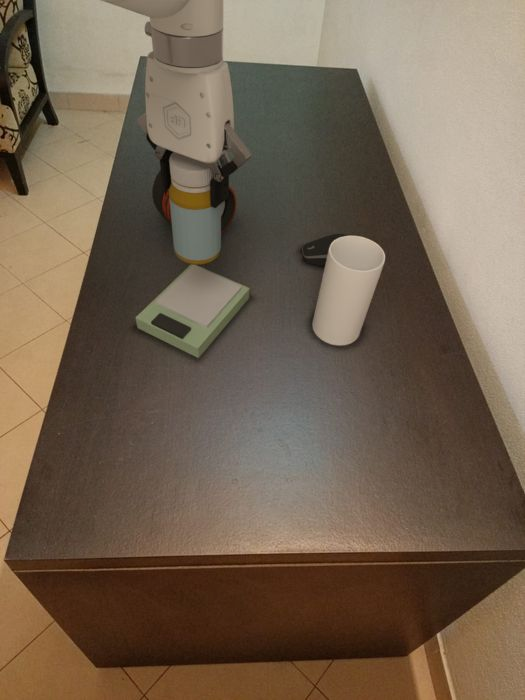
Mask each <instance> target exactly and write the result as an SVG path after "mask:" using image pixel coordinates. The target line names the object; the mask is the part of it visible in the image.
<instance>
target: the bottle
mask: <svg viewBox="0 0 525 700" xmlns="http://www.w3.org/2000/svg"><path fill="white" fill-rule="evenodd" d="M169 163H170V174H171V186H170V189H169V199H170V210H171V221H172V224H171V231H172V240H173V250H174V254H175V255H176V256H177V258H178V259H180V260H181V261H183V262H184V263H186V264H190V265H191V264H194V265H197V266H201V265H207V264H210V263H211V262H213V261H214V260H215V259H216V258H218V256H219V255H220V254H221V250H222V234H221V204H220V205H219V206H218V207H217V208H213V207H211V205H210V181H211V179H212V178H214V176H213V174H212V171H211V169H210V167H209V164H208V163H204V162H201V161H198V160H195V159H192V158H189V157H186V156H184V155H181V154H178V153H175V152H173V153H172V154H171V156H170V160H169Z"/></svg>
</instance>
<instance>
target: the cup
mask: <svg viewBox="0 0 525 700" xmlns="http://www.w3.org/2000/svg"><path fill="white" fill-rule="evenodd" d="M385 260H386V252H385V251H384V249H383V248H382V247H381V246H380V245H379V244H378V243H377V242H375V241H374V240H372V239H369V238H368V237H363V236H359V235H349V236H343V237H340V238H337V239H336V240H334V241H333V242H332V243H331V245H330V247H329V251H328V255H327V260H326V264H325V266H324V269H323V273H322V279H321V281H320V286H319V291H318V295H317V300H316V306H315V309H314V314H313V318H312V323H311V325H312V330H313V332H314V334H315V336H316V337H317V338H318V339H319V340H321V341H322V342H324V343H327V344H329V345H333V346H348V345H350V344H353V343H354V342H355V341H357V339H359V337H360V334H361V332H362V329H363V326H364V322H365V319H366V317H367V314H368V311H369V309H370V305H371V302H372V299H373V298H374V297H373V296H374V293H375V291H376V288H377V285H378V282H379V279H380V277H381V274H382V271H383V268H384V266H385V262H386V261H385Z"/></svg>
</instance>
